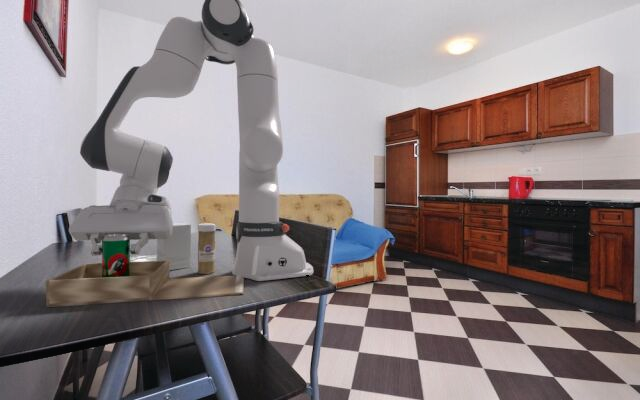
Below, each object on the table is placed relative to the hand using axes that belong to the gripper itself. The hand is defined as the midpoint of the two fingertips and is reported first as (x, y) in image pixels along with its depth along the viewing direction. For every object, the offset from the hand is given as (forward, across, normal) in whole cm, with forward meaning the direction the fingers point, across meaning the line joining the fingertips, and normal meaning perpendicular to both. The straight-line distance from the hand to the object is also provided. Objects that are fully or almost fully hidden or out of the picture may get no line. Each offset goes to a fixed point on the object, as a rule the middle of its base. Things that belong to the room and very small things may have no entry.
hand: (115, 253), depth 64 cm
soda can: (+5, 0, +6) cm, 8 cm away
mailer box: (+6, +9, +7) cm, 12 cm away
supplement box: (-9, +7, +22) cm, 24 cm away
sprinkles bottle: (-3, +17, +16) cm, 24 cm away
